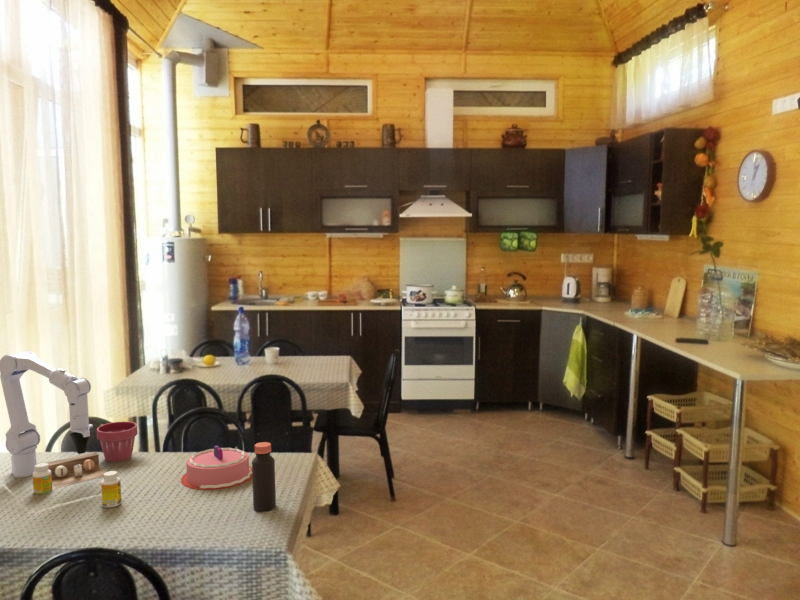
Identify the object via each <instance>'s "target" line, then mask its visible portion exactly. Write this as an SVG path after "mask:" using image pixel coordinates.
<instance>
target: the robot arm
mask: <svg viewBox="0 0 800 600" xmlns="http://www.w3.org/2000/svg"><path fill="white" fill-rule="evenodd" d="M29 370H31V371H32V372H35V373H36V374H40V375H41V376H43V377H46V378H47V379H48V381H49V384H51V385H52V386H54V387H56V388H58V389H60V390H62V391H63V393H64V395H65V396H66V398H67V399H66V400H67V402H68V410H69V425H70V426H69V431H70V432H71V433H69V436H70V438H71V439H72V441H73V443H74V446H75V447H74V448H75V449H76V453H77V454H78V455H83V454H86V451H87V445H88V441H89V438H90V437H91V430H90V429H91V428H94V427H93V426H94V425H93V424H92V423H90V421H89V420H90V419H89V418H90V417H89V403H88V402H89V401H88V400H89V399H88V394H89V393H90V392H91V388H92V385H91V383H90V381H89V380H88V379H87V378H86V377H77V376H76V375H73V374H71V373H69V372H67V369H64V368H57V369H55V368H54V367H52V366H50V365H49V364H48V363H46V362H44V361H43V360H42V359H40V358H38V355H37V354H36V353H35V352H32V351H31V350H24V351H20V352H17V353H12V354H11V353H10V354H4V355H3V356H2V357H1V358H0V382H1V387H2V392H3V396H4V400H5V404H6V408H7V414H8V418H9V424H10V427H9V429H7V431H6V433H5V448H6V450H7V452H8V453H9V454H10V455H11V456H10V459H11V460H10V461H11V472H9V473H8V475H13V477H14V478H25V477H29V476H33V473H34V472H35V465H37V464H38V463H37V450H36V449H37V448H38V445H39V444H40V442H41V434H40V432H38V430H37V427H36V425H35V424H33V423H32V422H30V421H29V417H28V416H29V415H28V412H27V409H26V404H25V398H24V393H23V389H22V386H21V381H20V379H21V378H22V376H23V375H24V374H25V373H26V372H28V371H29Z"/></svg>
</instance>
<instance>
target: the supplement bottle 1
mask: <svg viewBox="0 0 800 600" xmlns="http://www.w3.org/2000/svg"><path fill="white" fill-rule="evenodd" d="M48 468H49V466H48V463H47V462H41V463H37V465H35V472H34V473H33V475H32V486H33V487H32V488H33V494H34V495H46V494H49V493H51V492H52V491H53V484H52V473H51V470H49V469H48Z"/></svg>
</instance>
